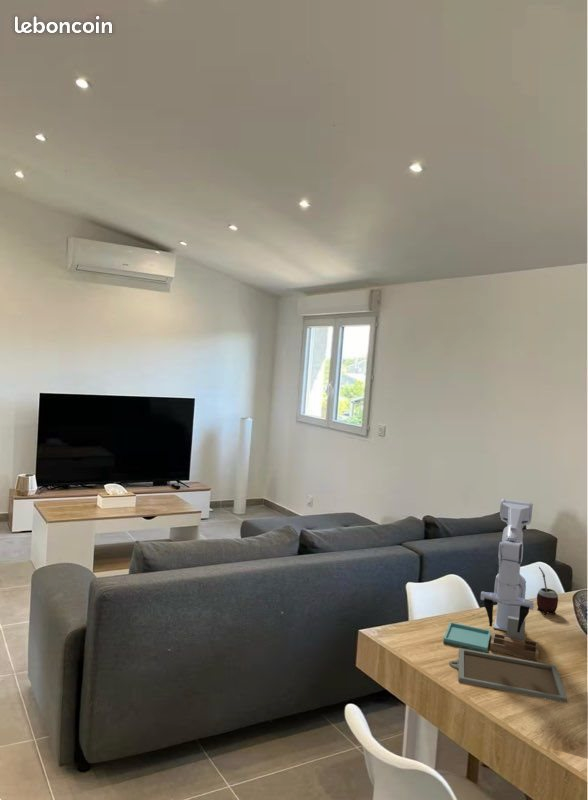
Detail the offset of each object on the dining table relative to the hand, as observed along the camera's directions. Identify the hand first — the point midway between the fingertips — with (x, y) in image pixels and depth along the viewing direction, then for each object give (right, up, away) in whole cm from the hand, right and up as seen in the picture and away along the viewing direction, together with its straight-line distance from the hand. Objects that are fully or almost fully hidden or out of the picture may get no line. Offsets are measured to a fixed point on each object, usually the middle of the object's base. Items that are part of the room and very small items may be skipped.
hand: (504, 628), depth 174 cm
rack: (+6, -10, +8) cm, 15 cm away
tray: (-7, -9, +15) cm, 19 cm away
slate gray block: (+7, -10, +11) cm, 17 cm away
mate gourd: (+30, -11, +43) cm, 53 cm away
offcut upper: (+6, -9, +7) cm, 13 cm away
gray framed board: (-3, -11, -7) cm, 13 cm away
